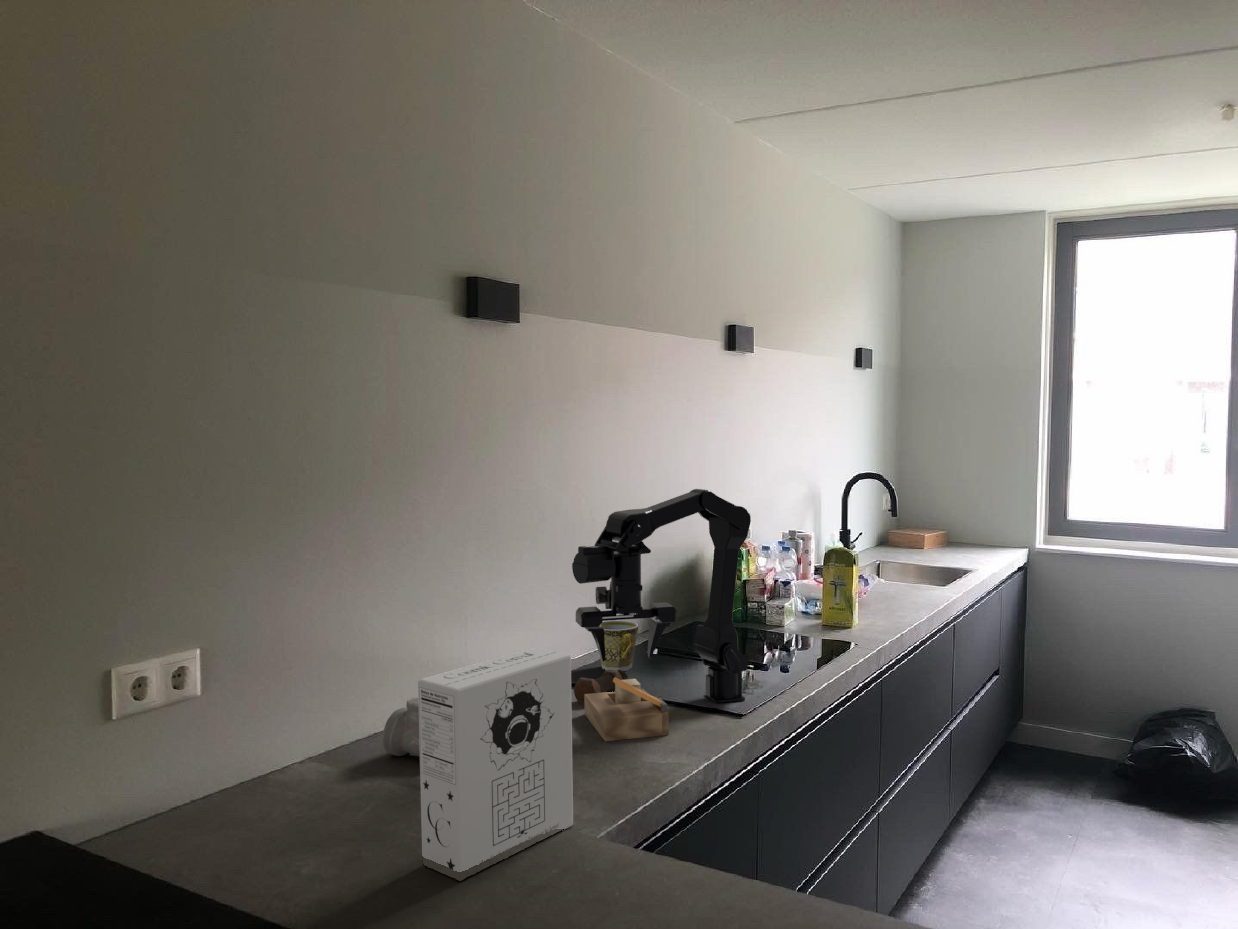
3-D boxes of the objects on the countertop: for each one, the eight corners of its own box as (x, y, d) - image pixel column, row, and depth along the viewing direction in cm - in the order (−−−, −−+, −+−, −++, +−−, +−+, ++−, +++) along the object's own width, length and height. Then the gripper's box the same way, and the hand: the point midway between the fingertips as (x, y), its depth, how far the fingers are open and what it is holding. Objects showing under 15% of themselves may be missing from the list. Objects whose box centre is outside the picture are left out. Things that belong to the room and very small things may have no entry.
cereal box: (536, 812, 146) (533, 646, 144) (574, 825, 141) (571, 654, 139) (421, 866, 129) (416, 679, 128) (459, 883, 124) (455, 689, 123)
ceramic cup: (588, 665, 227) (587, 623, 226) (627, 660, 231) (626, 618, 231) (611, 679, 215) (611, 634, 215) (652, 674, 219) (651, 629, 219)
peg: (635, 714, 191) (635, 678, 191) (641, 720, 188) (640, 684, 187) (615, 716, 190) (615, 680, 190) (620, 722, 187) (620, 686, 186)
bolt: (625, 694, 211) (587, 711, 198) (607, 680, 213) (569, 696, 200) (637, 673, 209) (599, 688, 196) (619, 658, 211) (581, 673, 198)
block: (643, 708, 195) (643, 682, 194) (668, 734, 179) (668, 705, 179) (584, 714, 191) (584, 687, 191) (605, 741, 176) (604, 711, 176)
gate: (659, 705, 184) (662, 699, 184) (664, 710, 181) (667, 704, 181) (612, 681, 181) (615, 676, 181) (616, 686, 178) (619, 680, 178)
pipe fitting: (376, 757, 168) (383, 699, 167) (407, 747, 175) (414, 690, 174) (431, 777, 162) (439, 716, 162) (461, 765, 169) (468, 707, 169)
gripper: (660, 569, 197) (660, 646, 198) (569, 573, 192) (569, 652, 193) (677, 578, 186) (678, 659, 187) (581, 583, 181) (582, 667, 182)
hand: (626, 659), depth 188 cm, fingers open, 9 cm apart
